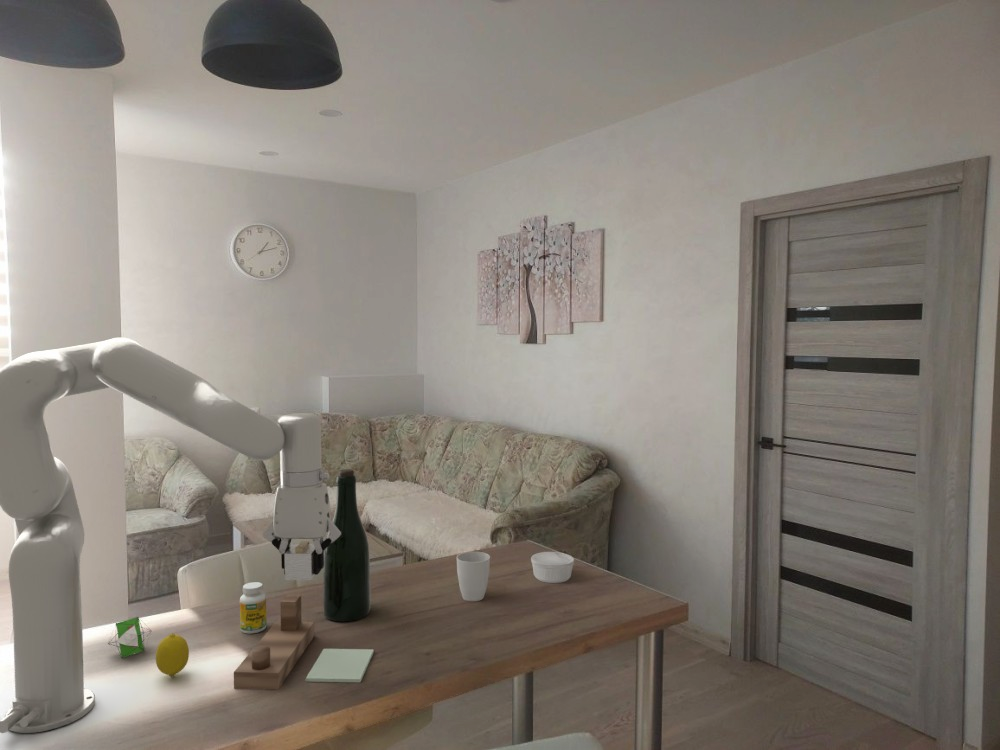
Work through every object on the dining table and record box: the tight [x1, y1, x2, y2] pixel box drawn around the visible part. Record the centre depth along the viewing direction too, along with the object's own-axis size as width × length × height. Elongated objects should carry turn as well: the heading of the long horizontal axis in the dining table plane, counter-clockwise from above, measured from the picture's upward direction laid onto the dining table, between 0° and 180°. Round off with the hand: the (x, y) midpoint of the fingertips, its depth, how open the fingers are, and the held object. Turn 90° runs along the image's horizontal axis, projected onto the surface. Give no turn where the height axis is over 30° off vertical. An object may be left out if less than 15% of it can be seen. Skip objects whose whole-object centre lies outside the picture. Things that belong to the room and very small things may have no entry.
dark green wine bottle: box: [322, 468, 371, 622], centre depth 156 cm, size 10×10×33 cm
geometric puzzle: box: [107, 616, 152, 659], centre depth 137 cm, size 7×7×8 cm
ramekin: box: [530, 551, 575, 584], centre depth 182 cm, size 11×11×5 cm
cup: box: [456, 551, 491, 602], centre depth 167 cm, size 8×8×10 cm
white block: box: [284, 540, 316, 581], centre depth 133 cm, size 6×5×6 cm
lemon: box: [155, 633, 190, 678], centre depth 128 cm, size 6×6×8 cm
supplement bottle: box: [239, 581, 268, 635], centre depth 148 cm, size 5×5×10 cm
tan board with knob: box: [233, 594, 315, 690], centre depth 134 cm, size 22×8×9 cm, turn 179°
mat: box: [305, 648, 375, 683], centre depth 132 cm, size 12×10×1 cm
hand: (303, 571), depth 133 cm, fingers closed on white block, 5 cm apart
